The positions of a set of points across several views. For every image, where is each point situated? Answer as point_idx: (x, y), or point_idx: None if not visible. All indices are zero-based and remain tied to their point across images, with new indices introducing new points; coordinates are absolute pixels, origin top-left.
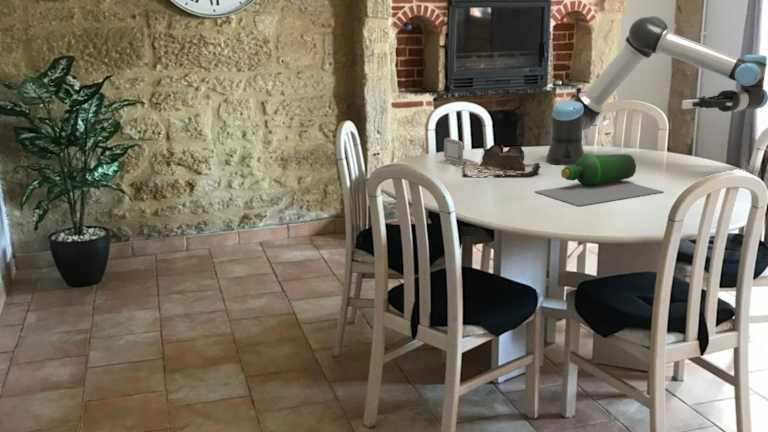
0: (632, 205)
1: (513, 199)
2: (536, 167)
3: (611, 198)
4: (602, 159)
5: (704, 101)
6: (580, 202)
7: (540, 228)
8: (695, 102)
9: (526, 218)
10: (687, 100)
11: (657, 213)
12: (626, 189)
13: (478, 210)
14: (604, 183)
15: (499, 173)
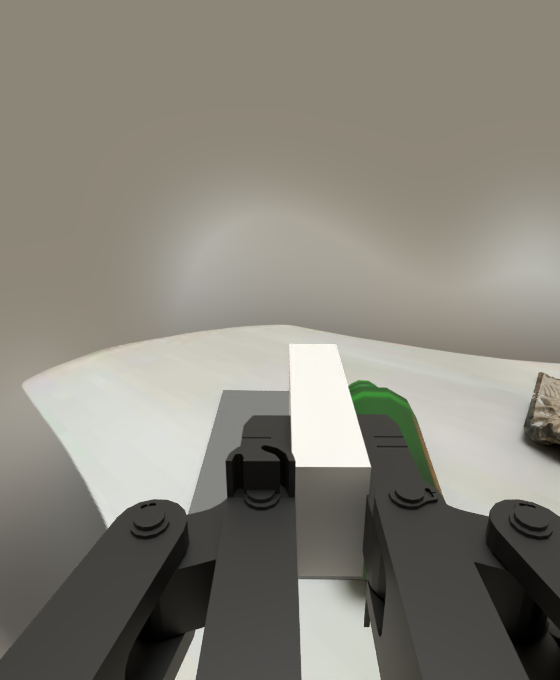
0: (154, 444)
1: None
2: (542, 431)
3: (221, 440)
4: None
5: (223, 531)
6: (238, 398)
7: (176, 338)
8: (264, 426)
9: (224, 344)
10: (313, 362)
11: (73, 440)
12: None
13: (295, 334)
14: None
15: (553, 408)
